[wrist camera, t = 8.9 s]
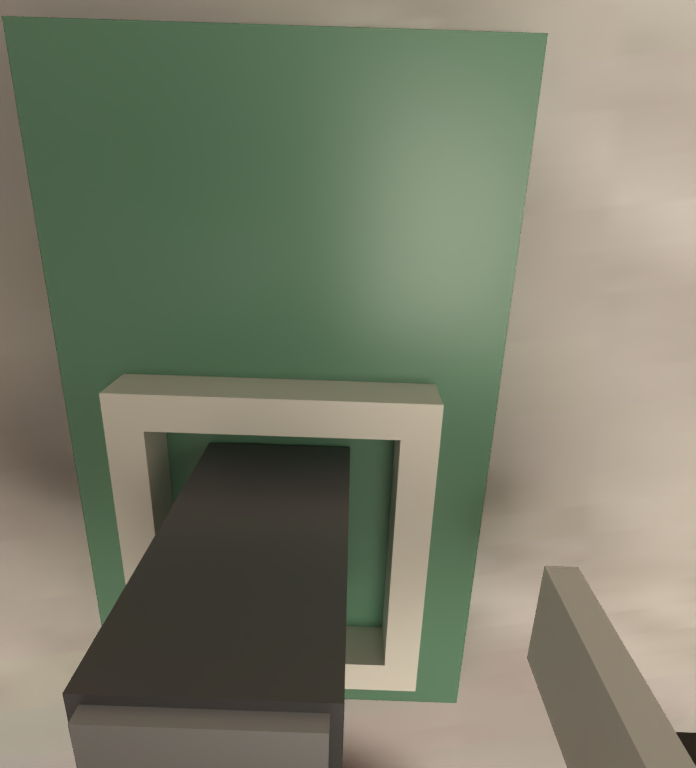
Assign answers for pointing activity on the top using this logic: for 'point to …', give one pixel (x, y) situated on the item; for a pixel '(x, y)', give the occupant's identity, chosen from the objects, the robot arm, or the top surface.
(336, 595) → the plug
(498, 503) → the top surface
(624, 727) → the robot arm
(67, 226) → the board
